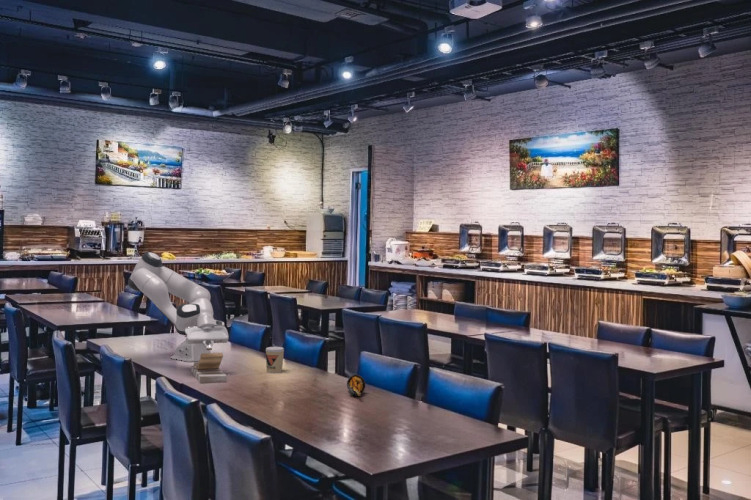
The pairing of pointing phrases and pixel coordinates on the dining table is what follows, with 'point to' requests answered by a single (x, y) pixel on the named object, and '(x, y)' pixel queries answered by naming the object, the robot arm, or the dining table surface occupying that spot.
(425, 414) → the dining table surface
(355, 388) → the fried shrimp in bowl
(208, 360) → the plank
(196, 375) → the floor base
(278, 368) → the coffee cup
